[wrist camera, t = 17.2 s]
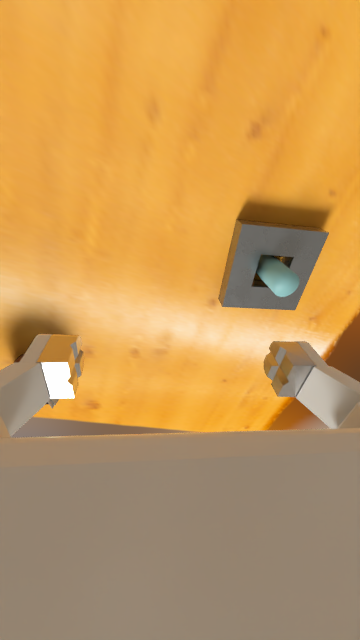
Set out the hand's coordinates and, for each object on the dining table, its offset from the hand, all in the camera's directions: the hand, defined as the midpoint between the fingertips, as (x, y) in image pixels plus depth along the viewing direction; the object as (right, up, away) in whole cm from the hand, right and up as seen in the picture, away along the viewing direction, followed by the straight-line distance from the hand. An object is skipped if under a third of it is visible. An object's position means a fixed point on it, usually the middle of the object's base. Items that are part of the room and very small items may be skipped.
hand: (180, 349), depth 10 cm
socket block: (+15, +11, +32) cm, 37 cm away
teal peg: (+15, +11, +32) cm, 37 cm away
